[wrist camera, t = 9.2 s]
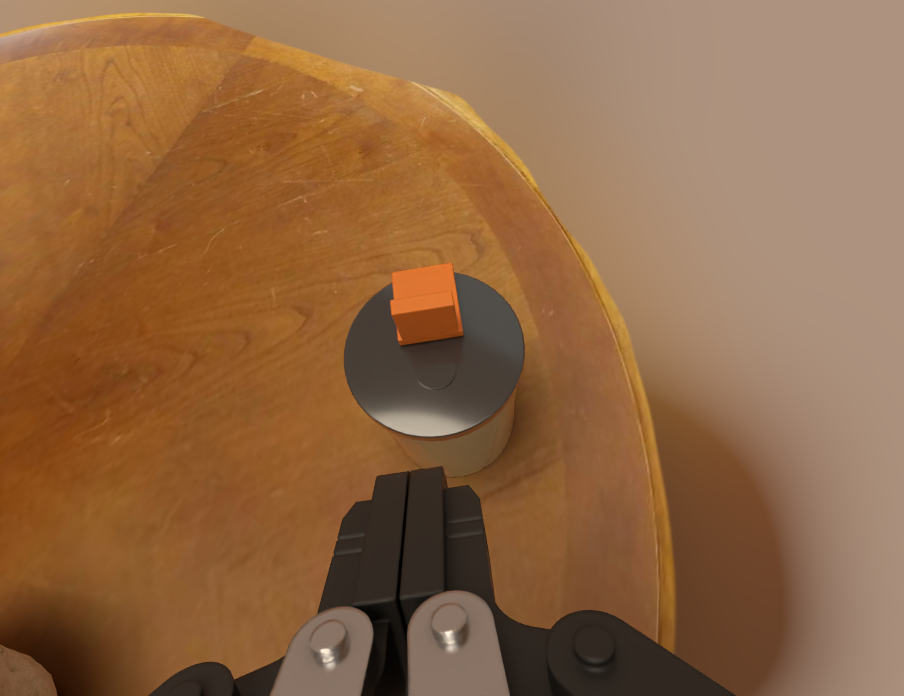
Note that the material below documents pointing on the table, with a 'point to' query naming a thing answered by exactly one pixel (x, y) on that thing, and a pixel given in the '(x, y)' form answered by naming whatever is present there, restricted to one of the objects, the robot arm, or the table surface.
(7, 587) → the table surface
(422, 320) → the slider
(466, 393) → the lidded canister
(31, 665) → the bowl
